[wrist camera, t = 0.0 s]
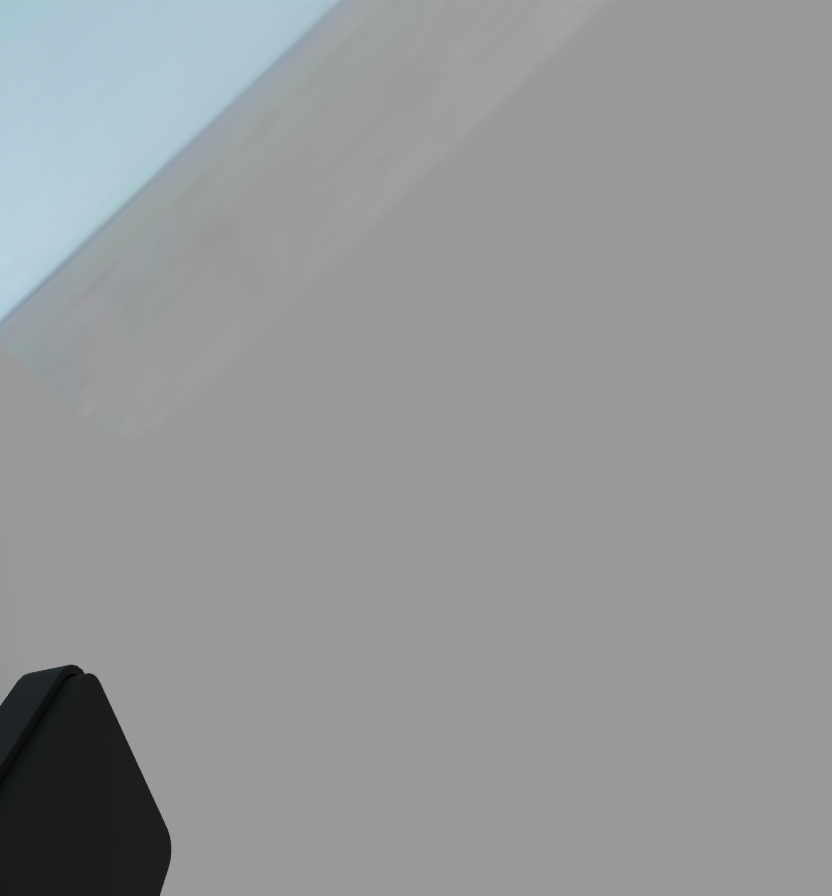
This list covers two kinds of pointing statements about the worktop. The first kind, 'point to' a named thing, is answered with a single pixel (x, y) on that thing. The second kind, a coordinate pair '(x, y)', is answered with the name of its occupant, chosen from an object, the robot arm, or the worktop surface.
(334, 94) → the worktop surface
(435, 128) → the worktop surface
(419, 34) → the worktop surface
